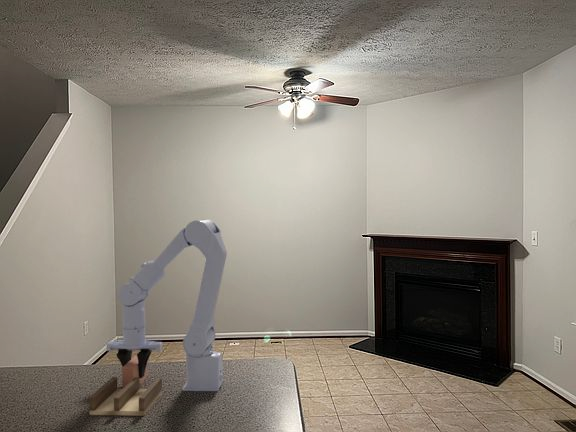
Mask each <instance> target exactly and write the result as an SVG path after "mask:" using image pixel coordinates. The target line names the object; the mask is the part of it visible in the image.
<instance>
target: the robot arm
mask: <svg viewBox="0 0 576 432" xmlns="http://www.w3.org/2000/svg"><path fill="white" fill-rule="evenodd" d="M192 246H194V247H195V248H197V249H198V250H199V251H200V252H201V254H202V255H203V257H205V262H204V263H205V264H204V269H203V272H202V278H201V281H200V282H201V283H200V286H199V287H200V288H199V292H198V297H197V301H196V306H195V312H194V316H193V319H192V321H191V323H190V325H189V329H188V333H187V334H186V335H184V337H183V340H182V348H183V351H185V365H186V369H185V370H186V371H185V372H186V382H185V384H184V385H183V387H182V389H181V390H182V391H183V392H188V391H189V392H219V390H220V389H221V386H222V384H223V382H224V364H223V363H224V361H223V353H222V352H218V351H214V350H215V349H214V347H213V345H212V344H213V343H214V342H215V340H216V330H215V323H216V321H215V313H216V312H215V311H216V307H217V304H218V303H217V302H218V298H219V294H220V288H221V284H222V278H223V274H224V271H225V270H224V269H225V265H226V260H227V257H228V256H227V254H228V253H227V249H226V245H225V243H224V241H223V237H222V231H221V229H220V228H219V226H218V225H216V223H215V222H214V221H213V220H212V219H209V218H204V219H200V220H197V219H195V220H192V221H190V222H188V224H186V227H183V228H182V229H181V230H180V231H179V232H178V233H177V234H176V235H175V236H174V237H173V239H172V240H171V242H169V244H168V245H167V246H166V247H165V249H163V251H161V253H160V254H159V255H158V257H157V258H156V259H155V260H148V261H147V262H146V261H145V262H143V263H142V264H141V265H140V267H141V268H140V269H139V271H137V273H136V274H135V275H134V276H130V278H129V283H128V282H126V283H124V284H123V285H121V287H120V289H119V290H118V295H117V296H118V300H119V302H120V303H121V304H122V306H121V307H122V339H123V340H120V341H118V340H117V341H108V343H106V352H112V351H117V353H116V358H117V359H118V360H119V362H120V364H121V366H122V367H123V366H124V365H126V364H127V363H128V362H129V361H130V360H131V359H132V355H133V351H138V353H137V354H136V355H137V357H138V363H139V378H143V376H144V374H145V369H146V365H147V366H148V361H149V359H150V356H151V354H152V352H153V351H156V352H160V351H162V350H163V342H162V341H152V340H147V339H146V310H145V309H146V306H145V300H146V298H147V297H148V295H149V292H151V290H152V289H153V288H154V287H156V285H157V284H158V283H159V282H160V281H161V280H162V278H163V277H164V276H165V274H166V272H165V271H166V269H165V268H167V267H168V265H169V264H171V263H172V262H173V260H175V258H177V257H178V255H180V254H181V253H182V252H183V250H185V249H187V248H189V247H192Z"/></svg>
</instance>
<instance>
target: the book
mask: <svg viewBox="0 0 576 432" xmlns="http://www.w3.org/2000/svg"><path fill="white" fill-rule="evenodd" d="M121 375H122V378H121V379H122V381H121V383H122V388H121V389H123V388H124V387H126V386H127V385H128V384H129V383H130V382H131V381H132V380H133V379H134V378H135V377H139V363H138V357H137V354H136V355H134V357H132V358H131V360H130V361H129V362H128V363H127V364H126V365H124V366H122V368H121ZM147 377H148V364H147V365H146V369H145V374H144V376H143V378H139V379H140V385H141V384H142V383H143V382H144V381H145V379H147Z"/></svg>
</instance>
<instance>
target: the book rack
mask: <svg viewBox="0 0 576 432" xmlns="http://www.w3.org/2000/svg"><path fill="white" fill-rule="evenodd" d="M162 379H163V378H162V377H156V378H155V379H154V381H153V382H152V383H151V384H150V385H149V386H148V387H147V388H141V387H140V386H141V384H140V379H139V377H135V378H134V379H133V380H132V381H131V382H130V383H129V384H128V385H127V386H126V387H124V388H119V386H118V376H112V377H111V378H110V379H109V380H107V381H106V382H105V383H104V384H103V385H102V386H101V387H99V388H98V389H97V390H96V391H95V392H93V394H92V395H90V396H89V398H88V401H89V403H88V404H89V405H88V406H89V416H135V417H136V416H142V417H143V416H146V414H147V413H148V412H149V410H150V409H151V408H152V407H153V405H154V404H155V403H156V402H157V401H158V398H159V397H160V396H161V395H162V394H163V380H162Z"/></svg>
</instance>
